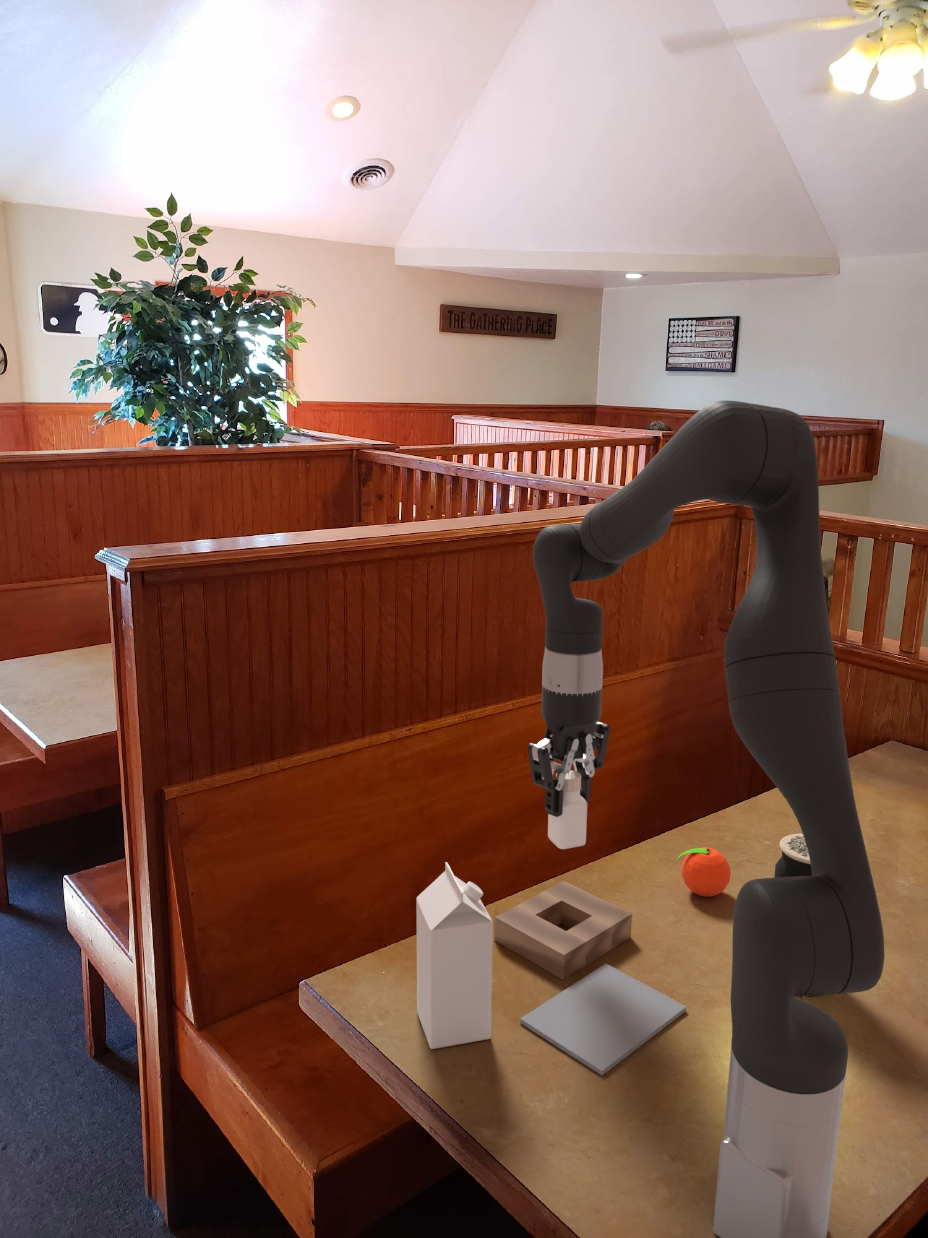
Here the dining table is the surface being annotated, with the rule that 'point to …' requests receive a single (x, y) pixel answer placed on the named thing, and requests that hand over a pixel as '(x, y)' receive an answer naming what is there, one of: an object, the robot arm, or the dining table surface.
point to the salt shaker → (570, 816)
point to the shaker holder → (553, 947)
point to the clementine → (705, 871)
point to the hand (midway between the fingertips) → (567, 807)
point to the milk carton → (454, 962)
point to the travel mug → (793, 857)
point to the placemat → (603, 1017)
